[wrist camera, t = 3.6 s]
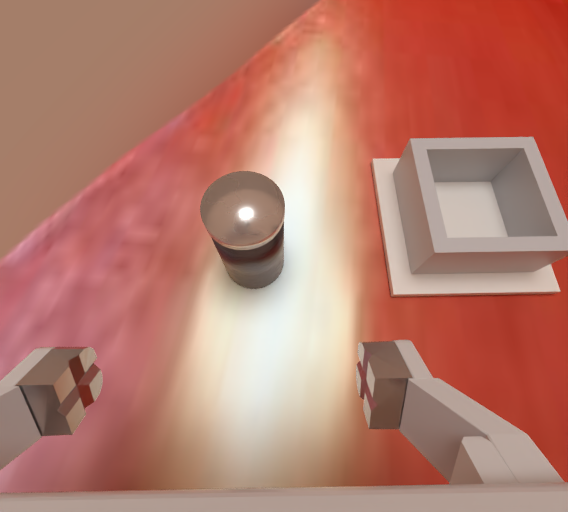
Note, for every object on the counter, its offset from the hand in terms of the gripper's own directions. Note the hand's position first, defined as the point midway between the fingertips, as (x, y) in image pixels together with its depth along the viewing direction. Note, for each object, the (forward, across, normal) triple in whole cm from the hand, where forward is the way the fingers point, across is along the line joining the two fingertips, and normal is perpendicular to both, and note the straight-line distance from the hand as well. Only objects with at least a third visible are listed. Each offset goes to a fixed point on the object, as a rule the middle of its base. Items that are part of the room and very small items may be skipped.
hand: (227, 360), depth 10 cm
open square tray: (+17, -16, +1) cm, 23 cm away
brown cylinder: (+15, 0, +3) cm, 15 cm away
